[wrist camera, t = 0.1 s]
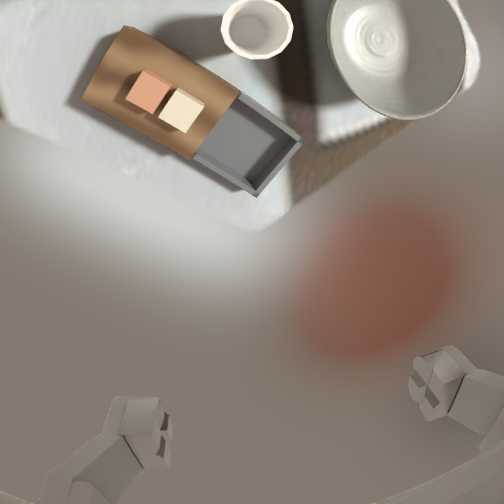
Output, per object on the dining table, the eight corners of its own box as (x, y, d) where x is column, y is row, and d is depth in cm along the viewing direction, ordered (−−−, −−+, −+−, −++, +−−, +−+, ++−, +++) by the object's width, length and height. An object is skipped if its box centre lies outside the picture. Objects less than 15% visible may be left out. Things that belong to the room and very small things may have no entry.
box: (239, 89, 49) (241, 93, 46) (299, 133, 55) (305, 140, 52) (194, 150, 55) (192, 158, 52) (253, 187, 61) (256, 197, 58)
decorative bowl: (373, 129, 56) (404, 151, 46) (274, 37, 44) (290, 35, 34) (448, 51, 45) (486, 60, 35) (365, -47, 32) (398, -60, 23)
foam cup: (210, 45, 44) (209, 45, 33) (231, 0, 39) (237, -14, 28) (262, 63, 47) (277, 69, 36) (283, 19, 42) (304, 13, 31)
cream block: (178, 87, 42) (176, 90, 40) (204, 103, 45) (204, 107, 42) (161, 113, 45) (158, 117, 42) (186, 128, 47) (185, 133, 44)
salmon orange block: (146, 69, 40) (142, 71, 37) (172, 84, 42) (170, 86, 40) (130, 95, 42) (125, 99, 39) (155, 110, 44) (152, 114, 42)
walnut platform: (132, 27, 39) (123, 25, 34) (236, 88, 49) (239, 93, 44) (92, 93, 45) (80, 99, 40) (191, 148, 55) (189, 160, 50)
